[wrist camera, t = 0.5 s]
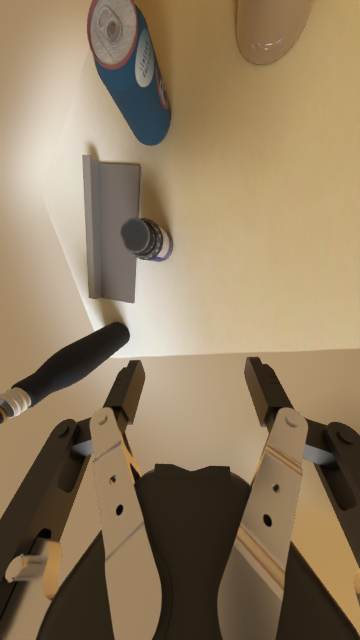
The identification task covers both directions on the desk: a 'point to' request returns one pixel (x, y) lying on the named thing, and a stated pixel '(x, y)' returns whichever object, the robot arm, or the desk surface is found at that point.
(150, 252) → the pill bottle
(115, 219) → the price rail shelf
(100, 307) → the desk surface
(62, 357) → the black water bottle
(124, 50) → the soda can
